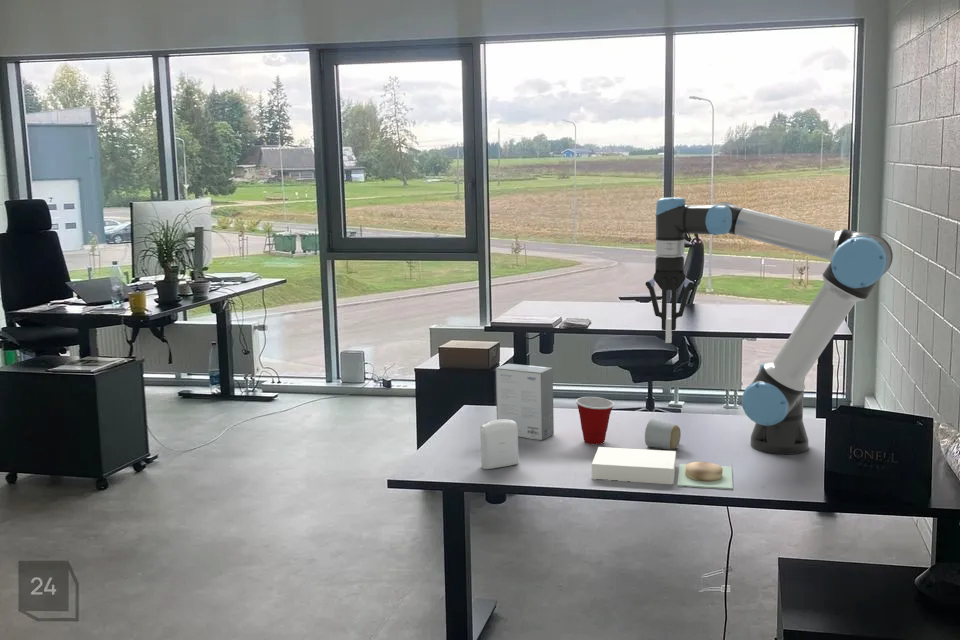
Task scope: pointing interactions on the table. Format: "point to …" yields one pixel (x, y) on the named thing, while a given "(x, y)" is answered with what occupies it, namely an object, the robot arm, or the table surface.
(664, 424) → the ceramic mug
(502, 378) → the hard drive box
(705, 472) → the cork coaster
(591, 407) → the plastic cup
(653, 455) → the block
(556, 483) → the table surface
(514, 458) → the photo printer
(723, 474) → the sage mat
